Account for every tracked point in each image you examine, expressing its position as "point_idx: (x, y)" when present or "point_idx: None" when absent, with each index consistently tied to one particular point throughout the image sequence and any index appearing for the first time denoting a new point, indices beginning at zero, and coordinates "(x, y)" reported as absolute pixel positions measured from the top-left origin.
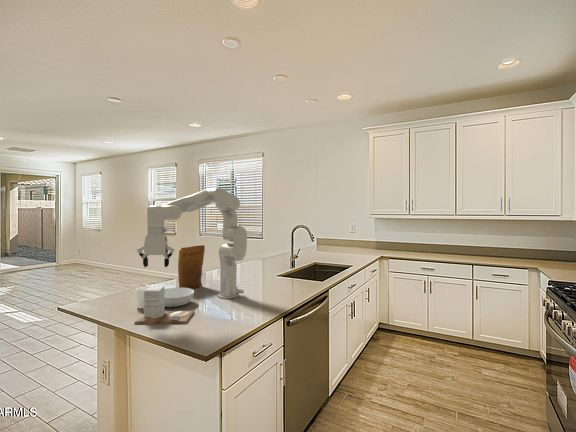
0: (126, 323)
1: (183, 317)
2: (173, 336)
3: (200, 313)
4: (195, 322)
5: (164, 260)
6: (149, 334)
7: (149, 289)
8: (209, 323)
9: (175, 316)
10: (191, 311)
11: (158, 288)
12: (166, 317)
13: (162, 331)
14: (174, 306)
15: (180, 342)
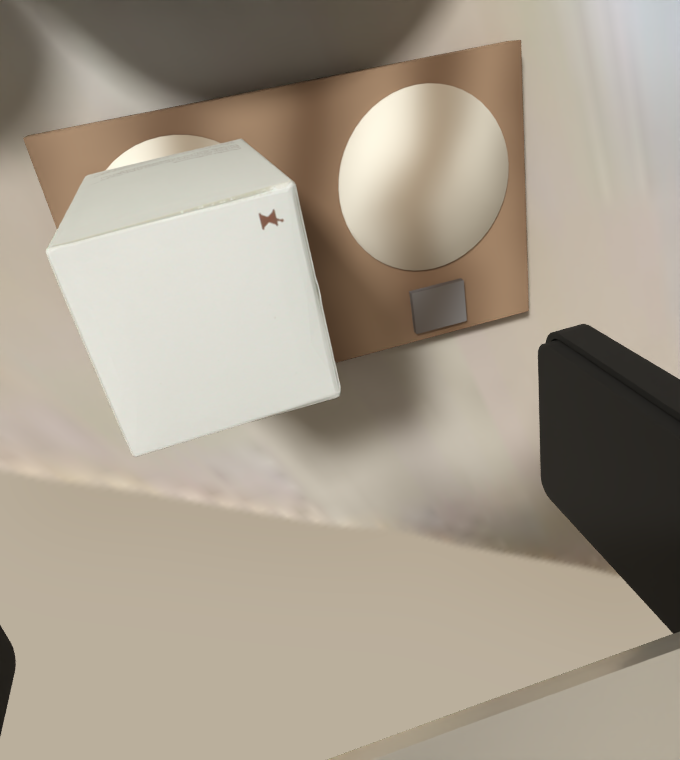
0: (44, 412)
1: (484, 245)
2: (510, 493)
3: (566, 41)
4: (576, 266)
5: (666, 620)
6: (359, 512)
7: (178, 399)
8: (673, 263)
9: (414, 247)
10: (501, 71)
11: (276, 320)
12: (342, 276)
13: (416, 456)
14: None
15: (569, 536)
